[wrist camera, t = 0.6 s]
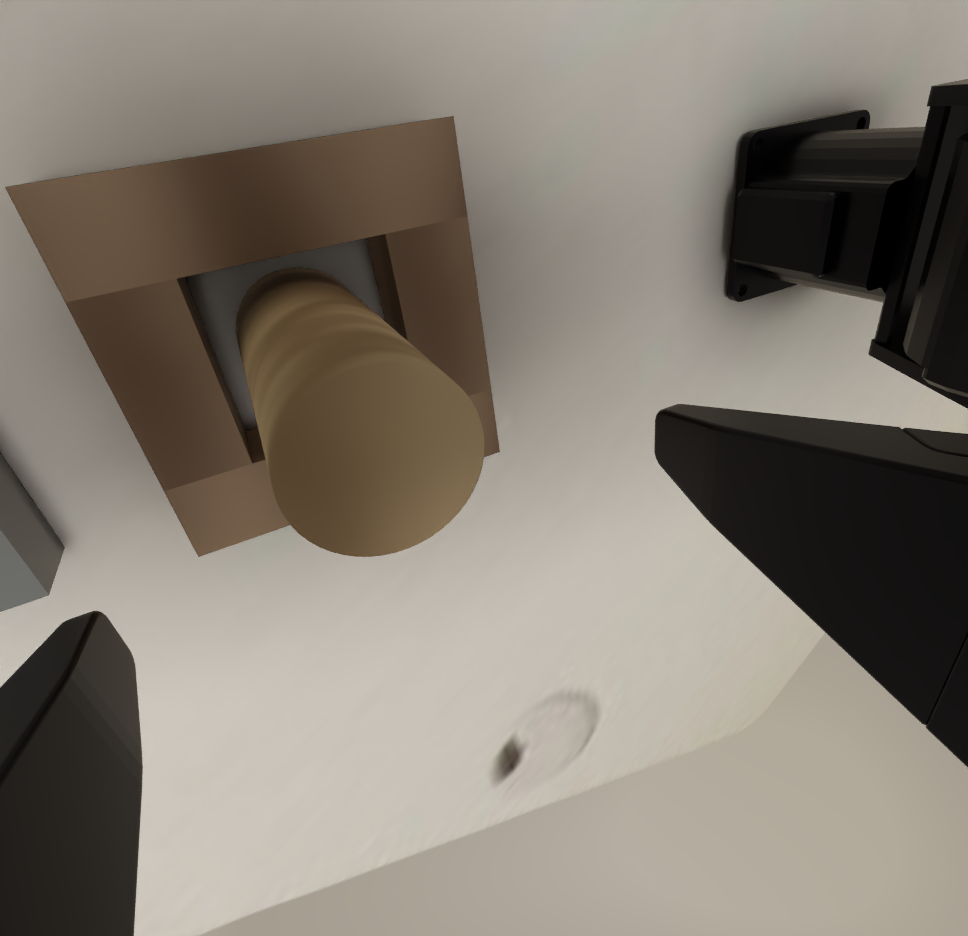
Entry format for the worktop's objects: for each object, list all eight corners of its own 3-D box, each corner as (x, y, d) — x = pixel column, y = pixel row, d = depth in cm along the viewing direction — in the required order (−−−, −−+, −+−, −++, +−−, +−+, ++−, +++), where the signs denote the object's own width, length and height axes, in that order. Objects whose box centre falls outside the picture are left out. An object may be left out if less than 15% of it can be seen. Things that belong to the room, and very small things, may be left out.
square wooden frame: (423, 120, 17) (453, 116, 15) (472, 425, 23) (499, 451, 21) (30, 182, 14) (4, 187, 12) (197, 516, 20) (198, 556, 18)
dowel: (346, 254, 18) (468, 334, 10) (376, 372, 20) (495, 514, 12) (215, 284, 17) (235, 398, 9) (260, 405, 19) (310, 585, 11)
